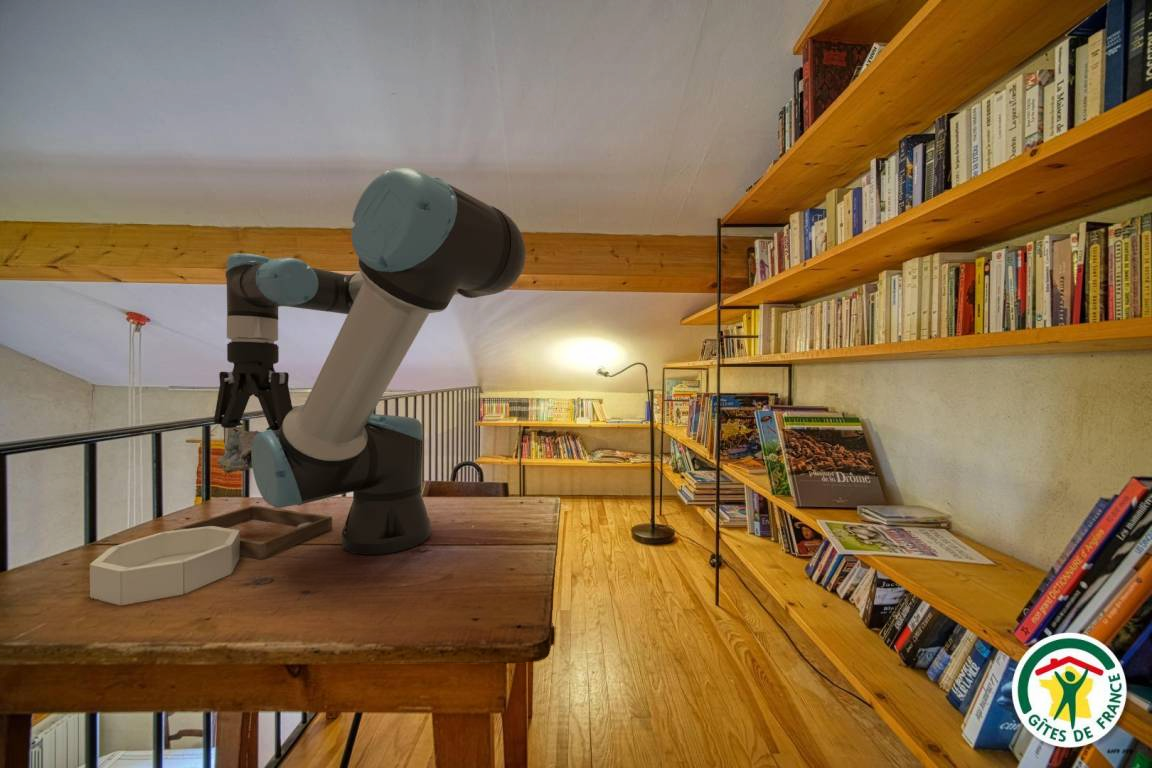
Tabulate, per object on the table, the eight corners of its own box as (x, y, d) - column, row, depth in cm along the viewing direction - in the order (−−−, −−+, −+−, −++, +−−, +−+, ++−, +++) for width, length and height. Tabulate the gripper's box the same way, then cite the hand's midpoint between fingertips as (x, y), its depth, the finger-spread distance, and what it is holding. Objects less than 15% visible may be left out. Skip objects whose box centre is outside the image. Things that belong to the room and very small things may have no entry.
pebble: (319, 531, 82) (319, 523, 82) (306, 537, 79) (306, 528, 79) (307, 529, 82) (307, 521, 82) (293, 535, 79) (293, 527, 79)
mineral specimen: (231, 494, 77) (288, 476, 78) (196, 474, 70) (259, 455, 72) (240, 450, 82) (293, 434, 84) (208, 428, 76) (266, 411, 77)
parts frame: (331, 529, 82) (332, 516, 82) (261, 559, 69) (261, 544, 69) (253, 517, 88) (253, 505, 88) (173, 543, 74) (173, 529, 74)
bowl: (260, 561, 68) (260, 533, 68) (144, 611, 54) (143, 576, 54) (193, 548, 72) (193, 522, 72) (68, 592, 58) (68, 559, 58)
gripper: (318, 342, 78) (318, 463, 79) (230, 344, 84) (231, 456, 84) (280, 339, 71) (281, 472, 71) (187, 340, 77) (188, 463, 77)
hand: (254, 463), depth 78 cm, fingers closed on mineral specimen, 9 cm apart
